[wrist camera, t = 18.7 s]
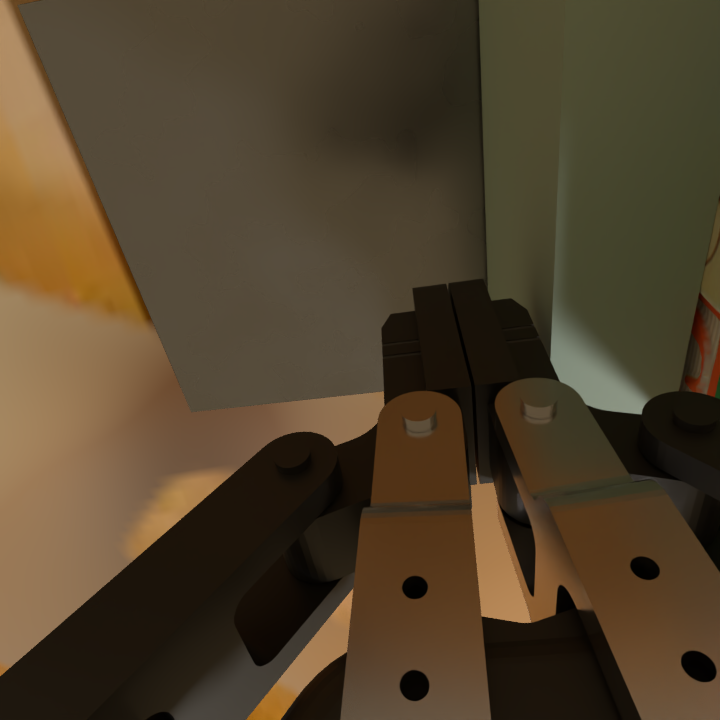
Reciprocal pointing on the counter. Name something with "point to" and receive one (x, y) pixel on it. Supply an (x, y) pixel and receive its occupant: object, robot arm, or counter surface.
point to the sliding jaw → (602, 181)
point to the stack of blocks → (706, 326)
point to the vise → (277, 174)
